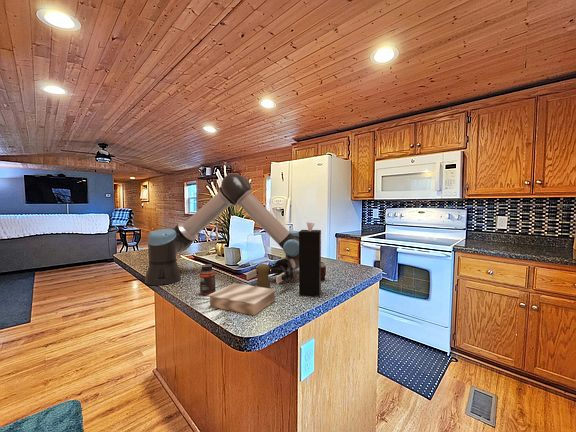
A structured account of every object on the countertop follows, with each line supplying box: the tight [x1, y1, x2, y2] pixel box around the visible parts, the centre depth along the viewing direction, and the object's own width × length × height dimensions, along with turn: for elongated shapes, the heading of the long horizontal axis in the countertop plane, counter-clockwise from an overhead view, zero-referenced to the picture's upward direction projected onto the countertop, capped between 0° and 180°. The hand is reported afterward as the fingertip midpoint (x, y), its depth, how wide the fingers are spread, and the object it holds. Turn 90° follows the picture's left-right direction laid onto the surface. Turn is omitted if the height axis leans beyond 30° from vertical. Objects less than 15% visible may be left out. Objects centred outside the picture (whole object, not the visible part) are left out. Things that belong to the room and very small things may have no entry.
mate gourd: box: [321, 261, 327, 281], centre depth 122 cm, size 8×8×15 cm
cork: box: [256, 263, 271, 289], centre depth 106 cm, size 6×6×11 cm
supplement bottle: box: [199, 263, 217, 296], centre depth 104 cm, size 6×6×11 cm
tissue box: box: [298, 222, 322, 297], centre depth 104 cm, size 8×8×28 cm
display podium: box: [207, 282, 277, 316], centre depth 94 cm, size 19×15×4 cm
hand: (261, 278), depth 105 cm, fingers open, 13 cm apart
